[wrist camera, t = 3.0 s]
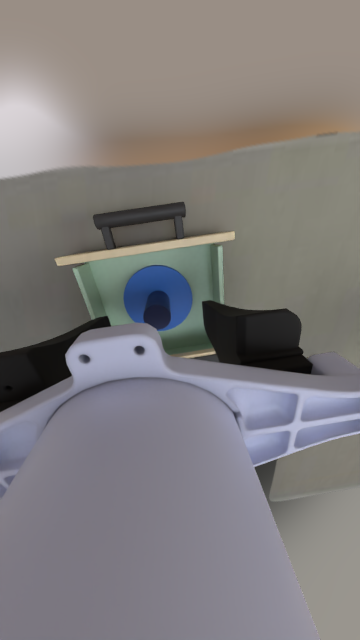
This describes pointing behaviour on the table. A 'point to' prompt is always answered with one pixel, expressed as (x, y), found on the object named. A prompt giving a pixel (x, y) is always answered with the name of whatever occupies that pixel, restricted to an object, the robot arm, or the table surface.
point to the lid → (158, 297)
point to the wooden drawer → (122, 263)
